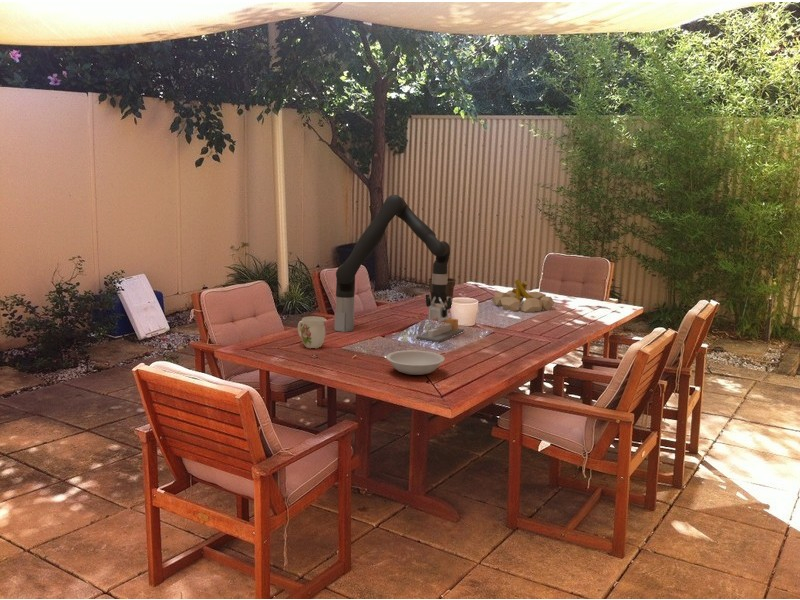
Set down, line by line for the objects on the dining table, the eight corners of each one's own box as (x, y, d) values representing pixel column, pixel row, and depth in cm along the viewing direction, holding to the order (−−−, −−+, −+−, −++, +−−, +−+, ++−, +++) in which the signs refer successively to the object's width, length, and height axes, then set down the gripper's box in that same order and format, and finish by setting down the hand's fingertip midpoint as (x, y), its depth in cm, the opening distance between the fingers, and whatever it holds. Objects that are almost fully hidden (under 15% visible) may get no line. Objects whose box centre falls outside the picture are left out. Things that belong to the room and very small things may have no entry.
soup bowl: (425, 362, 337) (426, 347, 336) (455, 377, 317) (455, 361, 315) (375, 368, 326) (376, 353, 325) (403, 384, 305) (403, 367, 304)
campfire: (484, 302, 479) (486, 275, 476) (534, 301, 489) (536, 274, 486) (509, 314, 446) (511, 284, 443) (562, 312, 457) (564, 283, 454)
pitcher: (306, 341, 369) (307, 312, 367) (334, 347, 358) (334, 318, 355) (289, 344, 361) (289, 315, 358) (316, 352, 350) (317, 322, 347)
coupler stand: (438, 343, 373) (438, 329, 371) (416, 339, 378) (416, 326, 377) (463, 332, 396) (464, 319, 395) (442, 329, 402) (443, 316, 401)
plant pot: (423, 307, 458) (424, 280, 455) (432, 302, 473) (433, 276, 470) (449, 310, 452) (450, 282, 449) (458, 305, 467) (459, 278, 464)
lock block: (439, 322, 378) (439, 307, 377) (428, 320, 381) (428, 306, 380) (448, 318, 386) (449, 304, 385) (437, 317, 389) (438, 303, 388)
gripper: (422, 282, 380) (421, 315, 383) (449, 285, 373) (448, 319, 376) (430, 280, 387) (429, 313, 390) (456, 283, 380) (454, 317, 383)
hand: (438, 316), depth 383 cm, fingers closed on lock block, 6 cm apart
